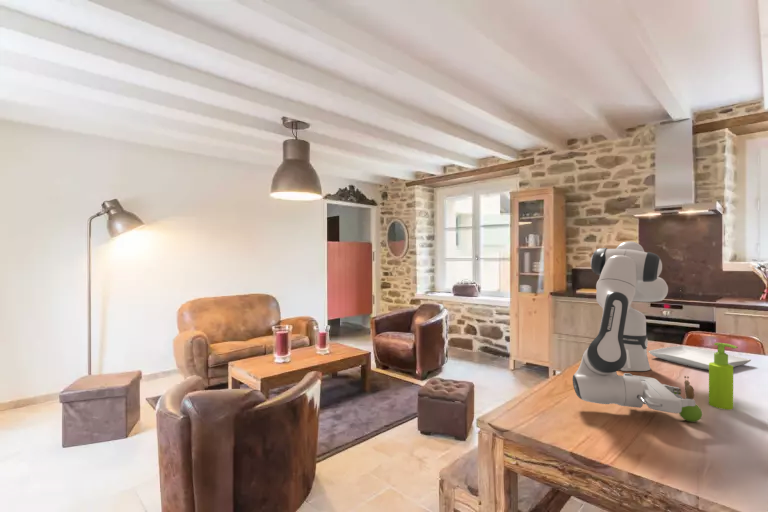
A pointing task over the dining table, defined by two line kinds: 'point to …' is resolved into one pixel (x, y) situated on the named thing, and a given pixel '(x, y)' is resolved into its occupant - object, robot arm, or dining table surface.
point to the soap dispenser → (721, 379)
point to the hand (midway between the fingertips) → (686, 396)
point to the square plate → (693, 356)
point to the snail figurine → (690, 411)
